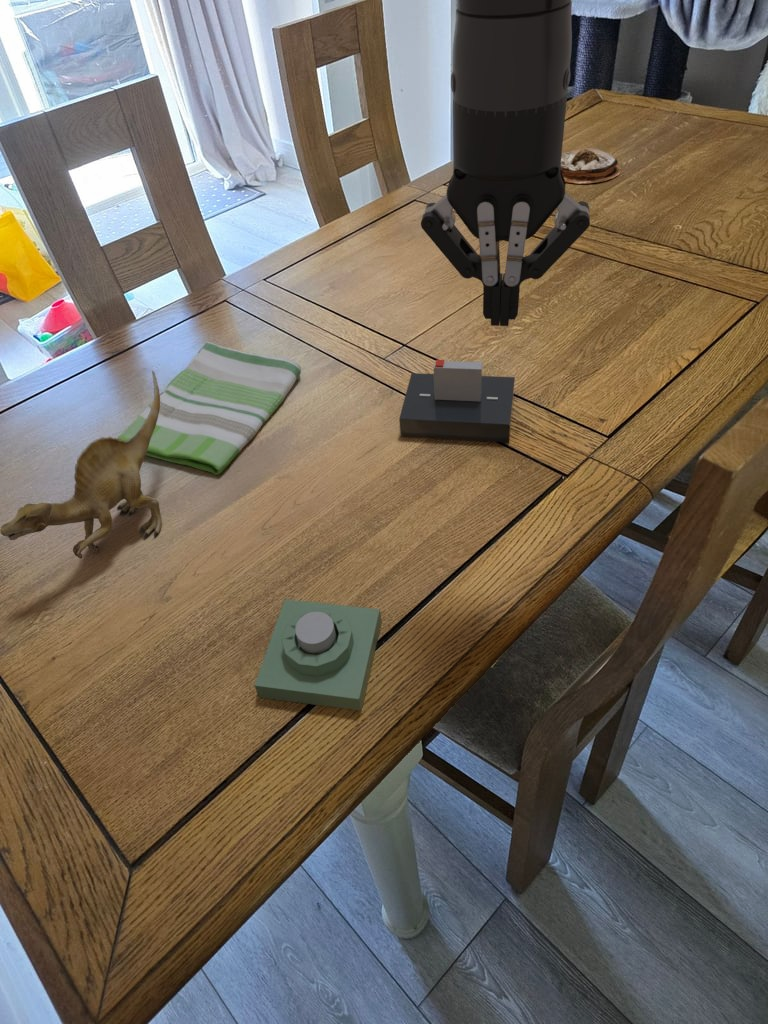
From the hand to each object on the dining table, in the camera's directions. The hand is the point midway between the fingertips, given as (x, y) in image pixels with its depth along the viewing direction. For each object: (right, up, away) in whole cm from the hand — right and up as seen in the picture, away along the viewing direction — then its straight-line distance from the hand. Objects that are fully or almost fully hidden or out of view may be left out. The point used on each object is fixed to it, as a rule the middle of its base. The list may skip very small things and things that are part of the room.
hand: (499, 320), depth 58 cm
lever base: (0, -3, +35) cm, 35 cm away
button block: (-16, -30, +10) cm, 36 cm away
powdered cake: (+32, +56, +88) cm, 109 cm away
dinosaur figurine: (-39, -17, +26) cm, 50 cm away
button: (-16, -28, +8) cm, 33 cm away
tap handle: (0, -1, +32) cm, 32 cm away
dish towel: (-33, -2, +40) cm, 52 cm away
